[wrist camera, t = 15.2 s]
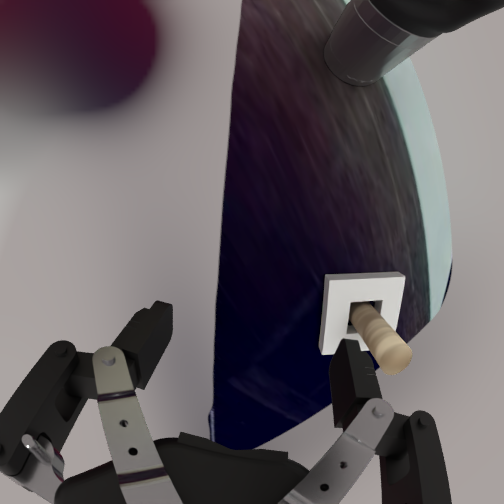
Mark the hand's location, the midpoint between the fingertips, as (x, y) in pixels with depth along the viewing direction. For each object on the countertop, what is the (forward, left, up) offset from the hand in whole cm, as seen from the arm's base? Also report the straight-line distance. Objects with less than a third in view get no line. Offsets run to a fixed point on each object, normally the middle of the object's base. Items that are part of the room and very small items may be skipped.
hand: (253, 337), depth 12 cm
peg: (+12, +16, -26) cm, 32 cm away
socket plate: (+12, +16, -26) cm, 32 cm away
